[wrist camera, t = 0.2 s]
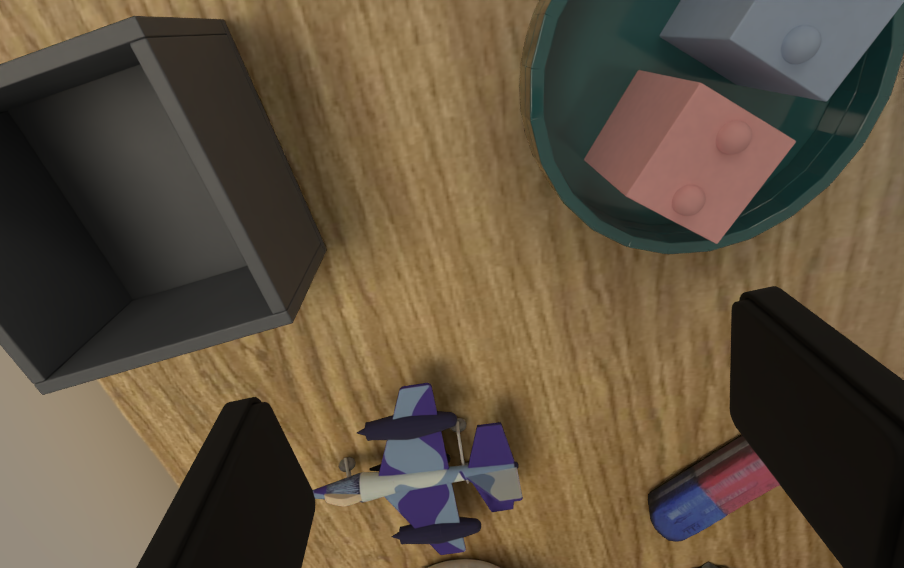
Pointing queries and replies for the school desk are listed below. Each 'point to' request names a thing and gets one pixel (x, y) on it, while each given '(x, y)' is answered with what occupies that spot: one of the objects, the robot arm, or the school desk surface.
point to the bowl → (641, 48)
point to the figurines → (708, 565)
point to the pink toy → (686, 152)
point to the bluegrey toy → (780, 40)
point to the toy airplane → (429, 472)
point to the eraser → (709, 491)
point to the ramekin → (464, 564)
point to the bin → (142, 203)
